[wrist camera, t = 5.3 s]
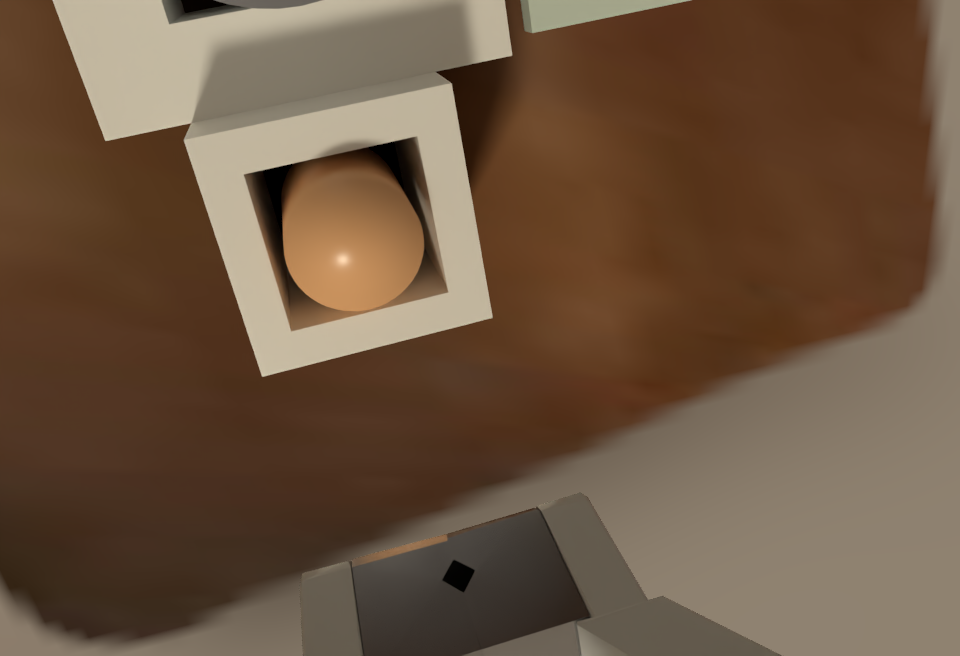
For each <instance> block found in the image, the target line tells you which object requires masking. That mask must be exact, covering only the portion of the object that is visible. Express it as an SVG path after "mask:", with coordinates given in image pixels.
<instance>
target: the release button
mask: <svg viewBox="0 0 960 656" xmlns="http://www.w3.org/2000/svg"><path fill="white" fill-rule="evenodd" d="M281 206H282V225H283V245H284V256H285V261H286V265H287V267H288V270H289V272H290V274H291V276H292V278H293V280H294V281H295V282H296V284H297V285H298V287H299V288H300V289H301V290H302V291H303V292H304V293H305V294H306V295H308V296H309V297H310V298H311V299H313V300H315V301H316V302H318V303H320V304H322V305H324V306H327V307H330V308H333V309H336V310H342V311H364V310H369V309H373V308H376V307H379V306H382V305H384V304H386V303H388V302H390V301H391V300H393V299H395V298H396V297H397V296H398V295H400V294H401V293H402V292H403V291H404V290H405V289H406V288H407V287H408V286H409V285H410V283H411V282H412V281H413V279H414V277H415V276H416V274H417V272H418V270H419V267H420V265H421V262H422V258H423V252H424V236H423V230H422V226H421V223H420V220H419V218H418V216H417V214H416V212H415V210H414V209H413V207H412V205H411V203H410V202H409V200H408V198H407V196H406V195H405V193H404V191H403V189H402V188H401V186H400V184H399V182H398V181H397V179H396V177H395V175H394V174H393V172H392V170H391V169H390V167H389V166H388V164H387V163H386V162H385V161H384V160H383V159H382V158H381V157H380V156H379V155H378V154H376V153H375V152H373V151H372V150H370V149H368V148H361V149H357V150H352V151H348V152H343V153H339V154H334V155H330V156H325V157H320V158H316V159H311V160H307V161H302V162H298V163H293V165H292V166H291V168H290V169H289V171H288V173H287V175H286V177H285V180H284V182H283V187H282V193H281Z"/></svg>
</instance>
